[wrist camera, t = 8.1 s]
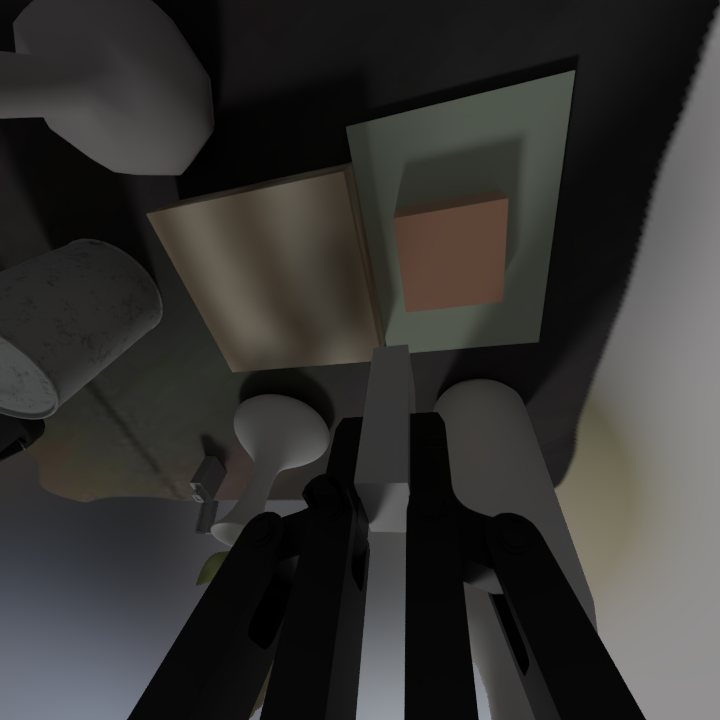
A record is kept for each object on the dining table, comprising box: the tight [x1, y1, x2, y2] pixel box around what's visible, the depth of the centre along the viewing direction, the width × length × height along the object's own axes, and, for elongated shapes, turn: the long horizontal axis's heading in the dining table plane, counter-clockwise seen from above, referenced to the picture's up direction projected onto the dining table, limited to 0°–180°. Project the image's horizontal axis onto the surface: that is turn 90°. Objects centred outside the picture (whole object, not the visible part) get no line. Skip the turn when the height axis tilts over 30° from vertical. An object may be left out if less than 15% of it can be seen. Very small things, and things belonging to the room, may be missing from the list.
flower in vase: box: [196, 394, 330, 718], centre depth 30 cm, size 13×11×25 cm
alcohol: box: [434, 379, 598, 720], centre depth 23 cm, size 9×9×30 cm
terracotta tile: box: [393, 190, 508, 313], centre depth 24 cm, size 7×7×2 cm
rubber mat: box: [346, 70, 575, 353], centre depth 25 cm, size 13×18×1 cm
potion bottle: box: [0, 0, 215, 175], centre depth 15 cm, size 9×9×18 cm
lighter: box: [189, 456, 227, 534], centre depth 46 cm, size 7×2×8 cm, turn 10°
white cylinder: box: [0, 239, 163, 420], centre depth 27 cm, size 10×10×12 cm
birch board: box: [146, 162, 385, 372], centre depth 27 cm, size 14×14×4 cm
